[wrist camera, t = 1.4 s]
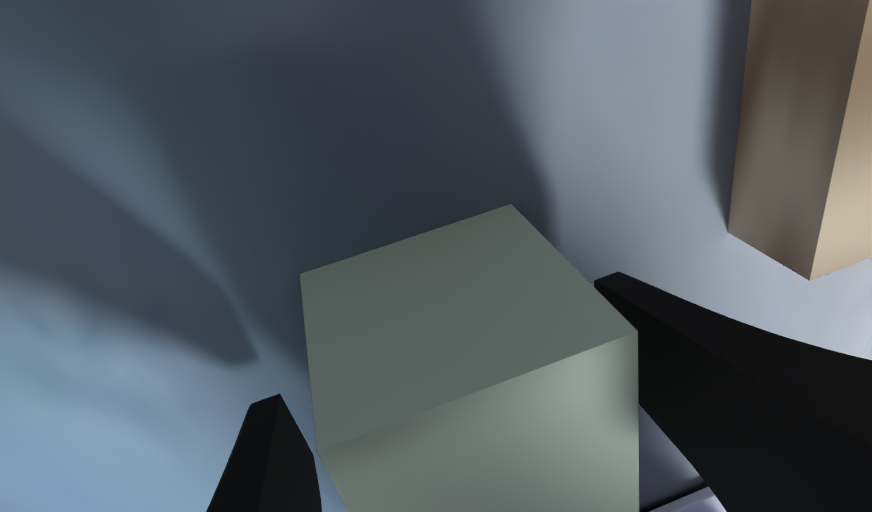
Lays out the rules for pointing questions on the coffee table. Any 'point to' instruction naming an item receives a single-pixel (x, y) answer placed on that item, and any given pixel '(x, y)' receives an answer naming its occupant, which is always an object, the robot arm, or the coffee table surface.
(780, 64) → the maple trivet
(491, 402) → the sage cube
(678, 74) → the coffee table surface
